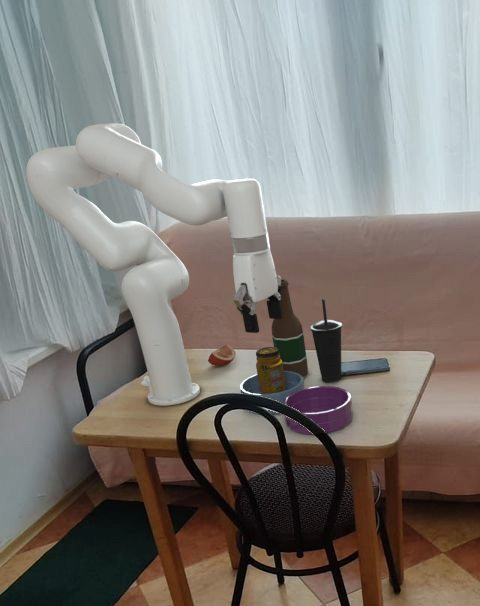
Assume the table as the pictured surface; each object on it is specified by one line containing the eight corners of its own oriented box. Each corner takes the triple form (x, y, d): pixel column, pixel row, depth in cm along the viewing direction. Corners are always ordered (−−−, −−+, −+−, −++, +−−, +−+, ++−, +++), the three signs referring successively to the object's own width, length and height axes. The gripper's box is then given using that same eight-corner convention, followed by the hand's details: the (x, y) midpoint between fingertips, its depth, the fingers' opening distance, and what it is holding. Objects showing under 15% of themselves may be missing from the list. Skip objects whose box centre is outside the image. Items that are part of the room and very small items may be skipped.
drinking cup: (340, 386, 152) (332, 304, 142) (311, 383, 155) (301, 303, 145) (351, 374, 158) (344, 295, 149) (323, 372, 161) (315, 294, 151)
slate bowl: (231, 411, 144) (227, 391, 142) (264, 387, 155) (261, 368, 153) (285, 418, 138) (282, 397, 136) (316, 393, 150) (313, 373, 147)
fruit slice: (221, 359, 176) (218, 342, 174) (242, 360, 174) (239, 343, 171) (204, 370, 169) (201, 352, 167) (226, 371, 167) (222, 353, 165)
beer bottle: (307, 380, 157) (294, 283, 146) (276, 382, 158) (261, 286, 146) (309, 368, 164) (298, 275, 152) (280, 370, 165) (266, 278, 153)
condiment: (287, 391, 151) (280, 343, 145) (292, 405, 144) (284, 355, 138) (257, 396, 150) (249, 348, 144) (260, 410, 142) (251, 360, 137)
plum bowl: (274, 431, 133) (270, 409, 131) (306, 403, 145) (303, 383, 142) (334, 439, 128) (332, 417, 125) (363, 410, 139) (361, 389, 137)
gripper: (257, 236, 138) (270, 313, 146) (211, 253, 125) (228, 337, 133) (287, 235, 135) (298, 314, 143) (243, 253, 122) (258, 339, 130)
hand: (264, 325), depth 138 cm, fingers open, 9 cm apart
